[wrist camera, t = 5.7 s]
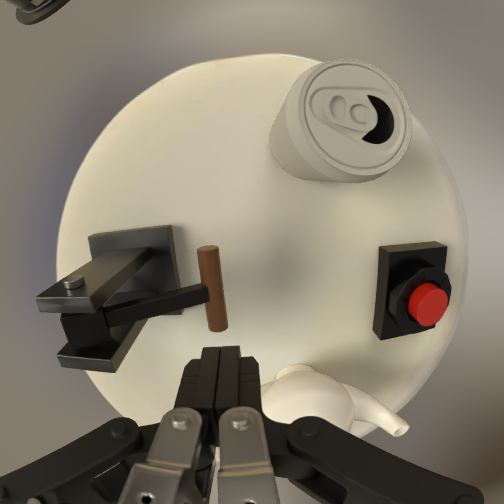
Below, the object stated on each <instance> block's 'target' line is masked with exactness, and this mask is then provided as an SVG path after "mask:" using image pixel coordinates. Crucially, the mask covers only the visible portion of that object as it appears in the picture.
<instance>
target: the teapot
mask: <svg viewBox="0 0 504 504" xmlns="http://www.w3.org/2000/svg"><path fill="white" fill-rule="evenodd" d="M261 399H262V410H263V412H264V414H265V415H266V416H267V417H268V418H270V419H271V420H273V421H276V422H280V423H287V424H291V423H292V422H293V421H294V420H296V419H298V418H301V417H304V416H317V417H321V418H323V419H325V420H327V421H328V422H330V423H332V424H334V425H336V426H337V427H339V428H341V429H343V430H345V431H346V432H348V433H349V432H350V430H351V427H352V424H353V421H354V420H356V421H364V422H369V423H372V424H375V425H377V426H379V427H381V428H383V429H384V430H385V431H387V432H388V433H390V434H391V435H393V436H395V437H397V436H401V435H403V434H404V433H405V432H407V430H408V429H409V425H408V424H407V423H406V422H405V421H404V420H403V419H401V418H400V417H399V416H397V415H396V414H395V413H394V412H392V411H391V410H390V409H389V408H387V407H386V406H385V405H384V404H382V403H381V402H380V401H378V400H377V399H375V398H374V397H372V396H370V395H369V394H367V393H365V392H363V391H361V390H360V389H357V388H355V387H353V386H351V385H348V384H345V383H340V382H338V381H336V380H335V379H333V378H331V377H329V376H327V375H325V374H322V373H318V372H316V371H315V370H314V369H313V368H311V367H310V366H307V365H301V364H298V365H292V366H289V367H286V368H284V369H283V370H281V371H280V372H279V373H278V374H277V376H276V378H275V381H274V382H272V383H268V384H264V385H261Z"/></svg>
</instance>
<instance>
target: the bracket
mask: <svg viewBox="0 0 504 504" xmlns="http://www.w3.org/2000/svg"><path fill="white" fill-rule="evenodd" d="M88 240H89V246H90V251H91V256H92V260H91V261H90V262H88V263H87V264H85V265H83V266H82V267H80V268H79V269H77V270H76V271H74V272H72V273H71V274H69V275H68V276H66V277H65V278H63V279H62V280H60V281H59V282H57V283H56V284H54V285H53V286H51V287H50V288H48V289H47V290H46V291H44V292H42V293H41V294H40V295H38V296H37V297H36V301H37V304H38V308H39V311H40V312H50V313H95V312H96V311H97V310H98V309H99V308H100V307H101V306H102V305H103V306H104V307H107V306H111V305H115V304H119V303H124V302H128V301H132V300H136V299H140V298H144V297H148V296H152V295H156V294H160V293H164V292H168V291H172V290H176V289H180V282H179V276H178V270H177V264H176V257H175V251H174V244H173V237H172V230H171V225H163V226H154V227H146V228H137V229H129V230H121V231H113V232H106V233H98V234H93V235H91V236H89V237H88ZM183 311H184V309H181V310H177V311H174V312H170V313H166V314H162V315H181V314H182V313H183ZM148 319H149V318H147V319H143V320H140V321H136V322H132V323H128V324H124V325H120V326H116V327H112V328H110V334H111V341H109V342H105V343H101V344H97V345H93V346H88V347H84V348H80V349H76V350H71V347H70V345H69V342H68V343H67V344H66V345H65V346H64V347H63V348H62V349H61V350H60V351H59V353H58V354H57V358H58V360H59V362H60V364H61V366H62V367H66V368H73V369H81V370H89V371H98V372H109V373H116V371H117V369H118V368H119V366H120V364H121V363H122V361H123V359H124V358H125V356H126V354H127V353H128V351H129V349H130V348H131V346H132V344H133V343H134V341H135V339H136V338H137V336H138V335H139V333H140V331H141V330H142V328H143V327H144V325H145V323H146V322H147V320H148Z"/></svg>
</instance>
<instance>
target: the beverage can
mask: <svg viewBox="0 0 504 504" xmlns="http://www.w3.org/2000/svg"><path fill="white" fill-rule="evenodd" d="M411 133H412V120H411V113H410V110H409V107H408V104H407V101H406V99H405V97H404V95H403V93H402V92H401V90H400V89H399V87H398V86H397V85H396V83H395V82H394V81H393V80H392V79H391V78H390V77H389V76H388V75H387V74H385V73H384V72H383V71H381V70H380V69H378V68H377V67H375V66H373V65H370V64H369V63H366V62H363V61H360V60H355V59H337V60H332V61H329V62H325V63H321V64H318V65H315V66H313V67H311V68H310V69H308V70H307V71H305V72H304V73H303V74H302V75H301V76H300V77H299V78H298V79H297V80H296V81H295V83H294V84H293V86H292V88H291V90H290V91H289V93H288V95H287V97H286V99H285V101H284V103H283V105H282V107H281V109H280V111H279V113H278V115H277V117H276V119H275V121H274V123H273V125H272V128H271V131H270V148H271V151H272V154H273V156H274V158H275V160H276V161H277V163H278V164H279V165H280V166H281V168H283V169H284V170H285V171H286V172H288V173H289V174H291V175H293V176H295V177H298V178H301V179H307V180H320V181H333V182H345V183H362V182H367V181H371V180H374V179H376V178H378V177H380V176H382V175H383V174H385V173H386V172H387V171H389V170H390V168H392V167H393V166H394V165H396V164H397V163H398V162H399V160H400V159H401V158H402V157H403V155H404V154H405V152H406V150H407V148H408V146H409V143H410V139H411Z"/></svg>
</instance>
